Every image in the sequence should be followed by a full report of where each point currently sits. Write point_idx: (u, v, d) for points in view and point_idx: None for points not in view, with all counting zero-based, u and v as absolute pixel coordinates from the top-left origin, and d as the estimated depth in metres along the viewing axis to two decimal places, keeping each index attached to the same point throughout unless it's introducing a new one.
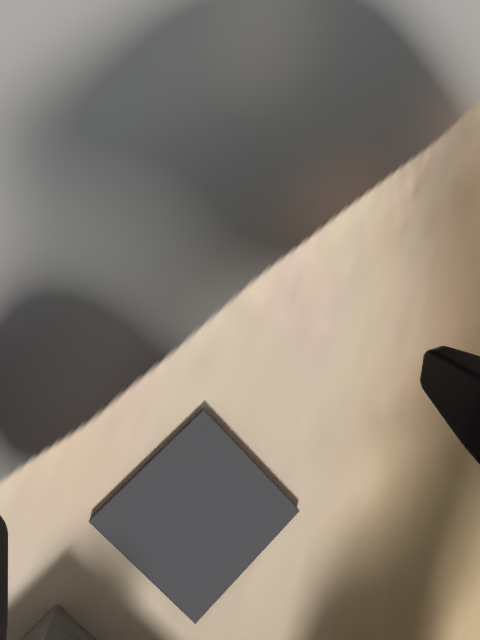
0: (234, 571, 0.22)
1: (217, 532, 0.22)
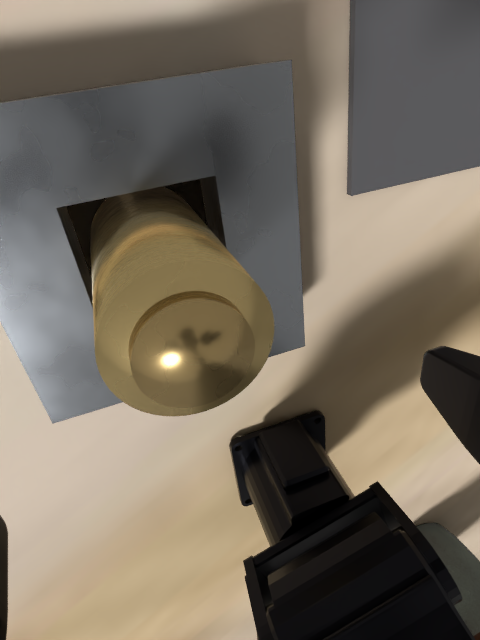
0: (409, 174, 0.20)
1: (429, 122, 0.19)
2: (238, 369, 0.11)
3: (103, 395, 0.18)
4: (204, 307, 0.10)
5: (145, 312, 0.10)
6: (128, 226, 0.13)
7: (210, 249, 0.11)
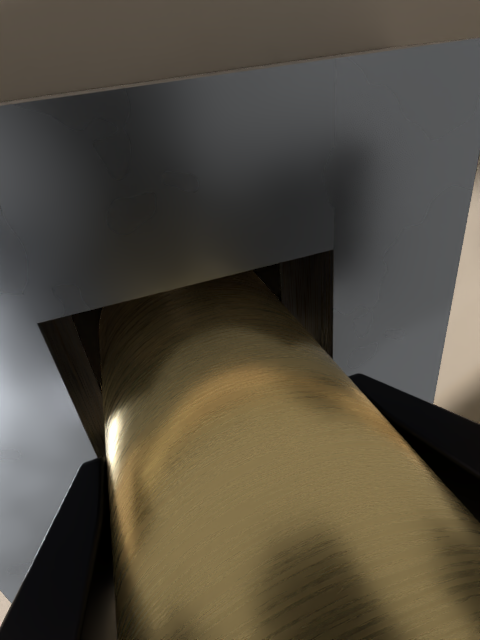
0: None
1: None
2: None
3: None
4: None
5: None
6: (188, 385, 0.06)
7: (436, 520, 0.04)
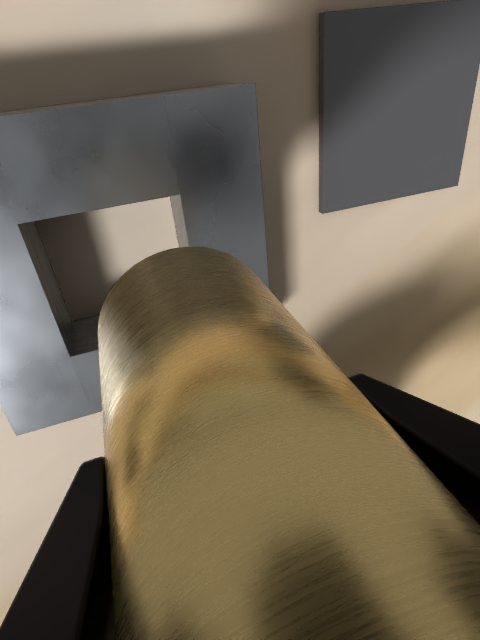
0: (380, 194, 0.21)
1: (400, 143, 0.20)
2: None
3: (68, 408, 0.18)
4: None
5: None
6: (186, 385, 0.06)
7: (434, 520, 0.04)
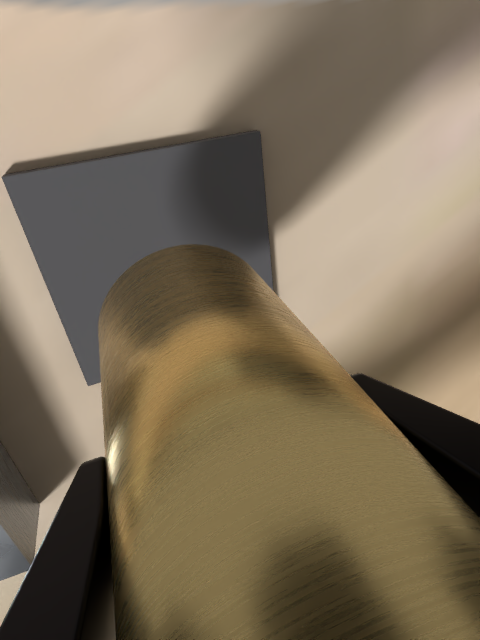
0: None
1: None
2: None
3: None
4: None
5: None
6: (187, 382, 0.06)
7: (439, 517, 0.04)
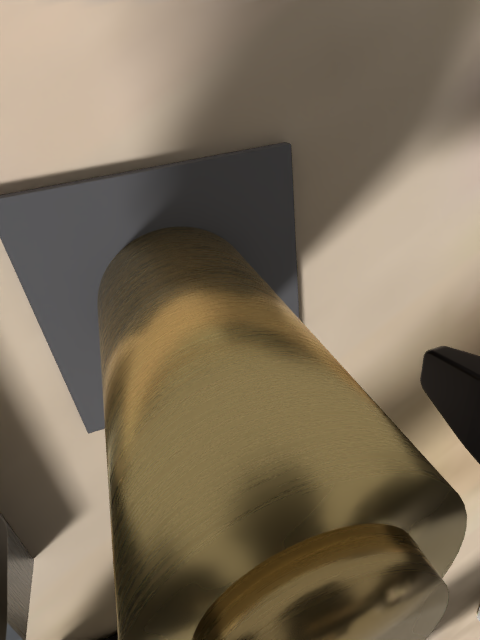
0: None
1: None
2: None
3: None
4: (374, 586, 0.04)
5: (235, 583, 0.04)
6: (170, 329, 0.07)
7: (353, 412, 0.05)
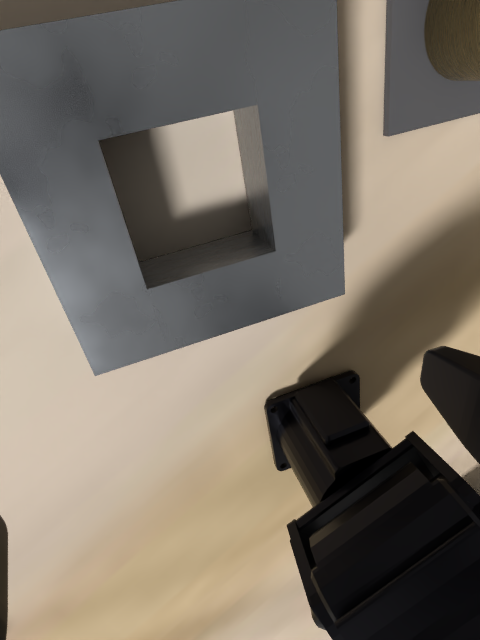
0: (447, 112, 0.20)
1: None
2: None
3: (144, 346, 0.18)
4: None
5: None
6: None
7: None
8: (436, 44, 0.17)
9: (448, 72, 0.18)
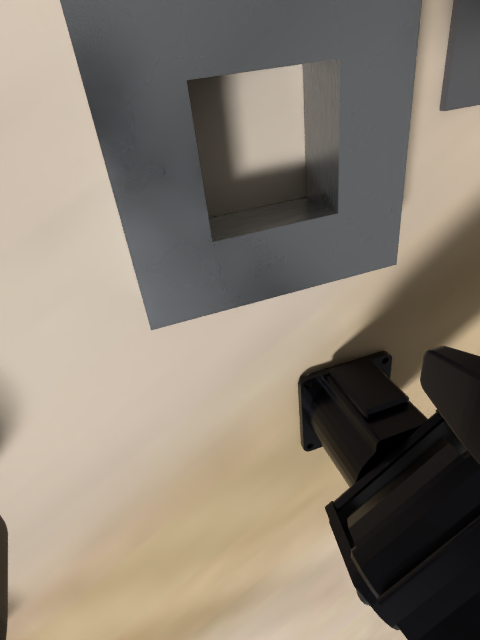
0: None
1: None
2: None
3: (202, 302, 0.17)
4: None
5: None
6: None
7: None
8: None
9: None
